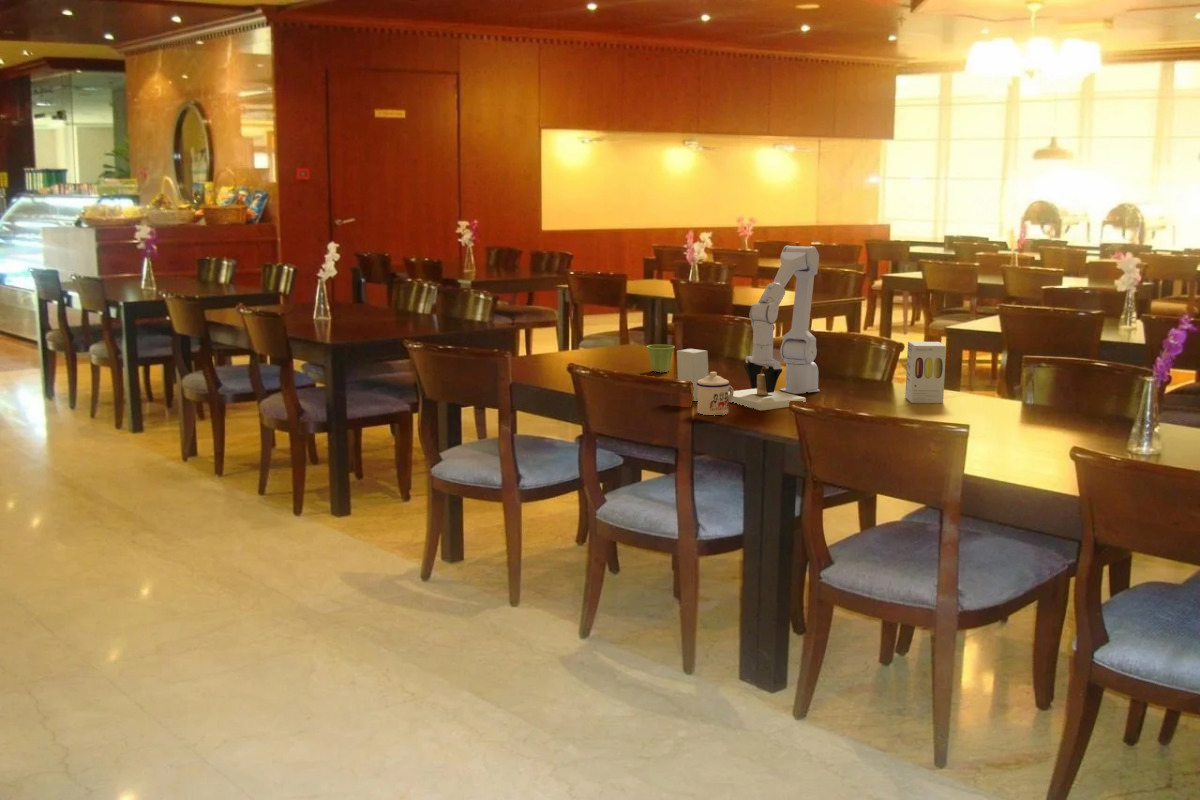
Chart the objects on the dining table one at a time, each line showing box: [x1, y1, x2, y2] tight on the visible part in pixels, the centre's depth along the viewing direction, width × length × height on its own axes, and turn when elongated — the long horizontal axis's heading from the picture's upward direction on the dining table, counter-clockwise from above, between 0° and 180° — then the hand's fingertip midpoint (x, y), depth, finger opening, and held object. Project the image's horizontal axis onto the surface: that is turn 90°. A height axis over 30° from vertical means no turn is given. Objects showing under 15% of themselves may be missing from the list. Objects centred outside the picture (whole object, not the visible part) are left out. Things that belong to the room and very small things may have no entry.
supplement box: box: [904, 341, 947, 404], centre depth 350 cm, size 10×9×17 cm
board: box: [729, 388, 807, 411], centre depth 352 cm, size 16×20×2 cm
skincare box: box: [676, 348, 710, 401], centre depth 356 cm, size 8×6×15 cm
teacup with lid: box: [697, 371, 735, 417], centre depth 337 cm, size 12×9×12 cm
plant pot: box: [646, 344, 676, 373], centre depth 406 cm, size 9×9×9 cm
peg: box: [757, 373, 768, 397], centre depth 351 cm, size 3×3×8 cm
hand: (762, 390), depth 351 cm, fingers open, 7 cm apart
